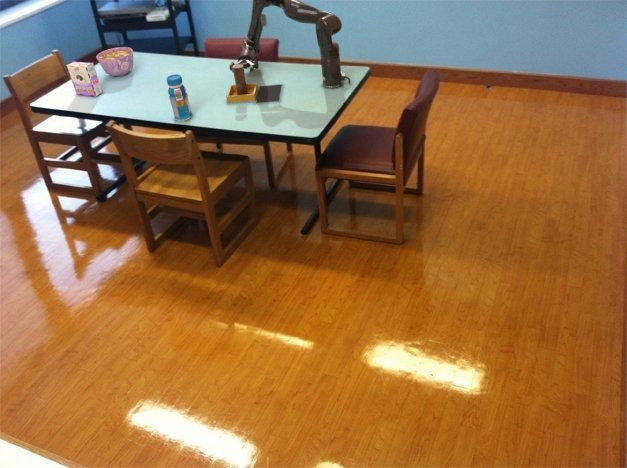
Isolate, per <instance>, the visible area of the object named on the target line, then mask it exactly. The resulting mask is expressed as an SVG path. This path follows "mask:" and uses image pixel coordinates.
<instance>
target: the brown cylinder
mask: <svg viewBox="0 0 627 468" xmlns="http://www.w3.org/2000/svg"><path fill="white" fill-rule="evenodd" d="M232 73H233V78H234V85H236V89H237V94H238V95H247V94H248V90H247V84H248V83H247V80H246V79H247V78H246V73H245V69H244V67H243V65H242V64H236V65H234V66H233V72H232Z"/></svg>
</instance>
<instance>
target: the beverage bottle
mask: <svg viewBox="0 0 627 468" xmlns="http://www.w3.org/2000/svg"><path fill="white" fill-rule="evenodd" d="M182 77H183V76H182V75H181V74H178V73H177V74H170V75H168V76H167V77H166V83H167V85H168V90H167V93H168V98H169V101H170V106H171V109H172V113H173V117H174V119H175V121H178V122H184V121H187V120H190V119H191V118H192V117H193V113H192V108H191V105H190V101H189V95H188V93H187V88H186V86H185V85H184V84H183V78H182Z"/></svg>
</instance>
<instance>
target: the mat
mask: <svg viewBox="0 0 627 468" xmlns="http://www.w3.org/2000/svg"><path fill="white" fill-rule="evenodd" d="M282 86H283V84H273V85H272V84H271V85H261V86H260V87H259V88H258V92H257V96H256V100H255V103H256V104H262V103H275V102H279V101H280V97H281V91H282Z"/></svg>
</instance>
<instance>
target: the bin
mask: <svg viewBox="0 0 627 468" xmlns="http://www.w3.org/2000/svg"><path fill="white" fill-rule="evenodd" d="M246 84H247V90H248V94H247V95H238V94H237V89H236V84H231V85H230V86H229V88H228V91H227V94H226V102H227V103H238V102H239V103H241V102H252V101H253V102H254V101H256V100H257V97H258V93H259V85H258V83H257V82H255V83H246Z"/></svg>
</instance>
